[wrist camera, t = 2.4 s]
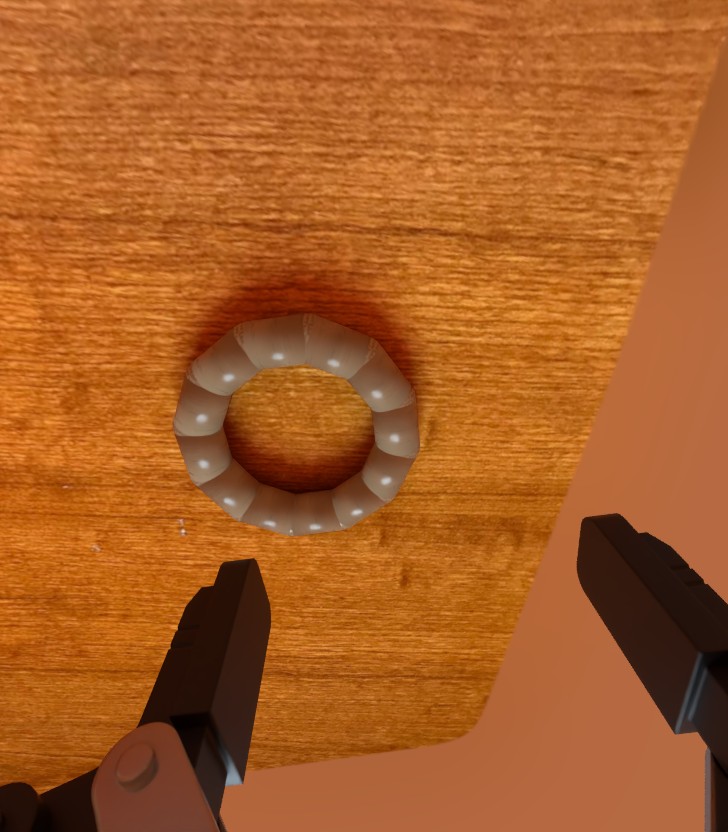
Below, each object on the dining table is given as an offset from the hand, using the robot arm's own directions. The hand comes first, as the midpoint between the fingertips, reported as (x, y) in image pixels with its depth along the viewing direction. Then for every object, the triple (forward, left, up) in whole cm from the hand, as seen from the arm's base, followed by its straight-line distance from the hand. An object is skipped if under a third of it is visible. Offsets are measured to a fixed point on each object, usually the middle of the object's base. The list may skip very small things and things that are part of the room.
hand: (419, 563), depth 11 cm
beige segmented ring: (0, -4, -8) cm, 8 cm away
